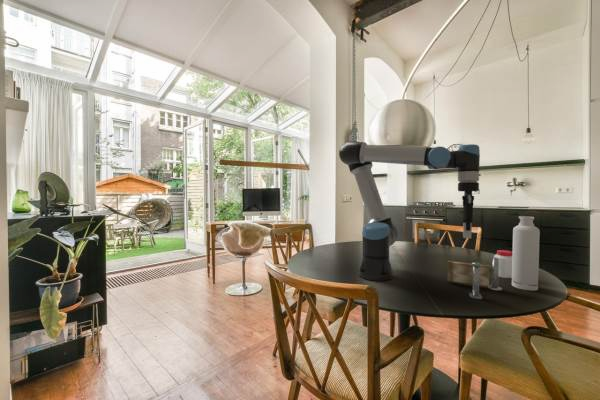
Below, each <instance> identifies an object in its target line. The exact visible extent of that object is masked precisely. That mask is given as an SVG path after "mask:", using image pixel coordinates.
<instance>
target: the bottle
mask: <svg viewBox="0 0 600 400" xmlns="http://www.w3.org/2000/svg"><path fill="white" fill-rule="evenodd" d="M518 219H519V223H518V225H515V226H514V227H512V228H513V229H512V251H511V252H512V278H511V286H512V287H514V288H516V289H520V290H525V291H533V292H534V291H538V289H539V285H538V283H539V267H540V263H539V262H540V260H539V259H540V235H541V234H540V233H541V232H540V231H541V230H540V228H539V227H537V226H535V224H534V222H533V221H534V220H535V217H534V216H527V215H526V216H525V215H524V216H523V215H519V216H518Z"/></svg>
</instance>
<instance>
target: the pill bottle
mask: <svg viewBox="0 0 600 400" xmlns="http://www.w3.org/2000/svg"><path fill="white" fill-rule="evenodd" d="M493 258H498V259H499V274H498V278H504V279H512V251H511V250H505V249H504V250H503V249H499V250H498V249H497V250H496V254H494V255H493Z"/></svg>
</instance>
